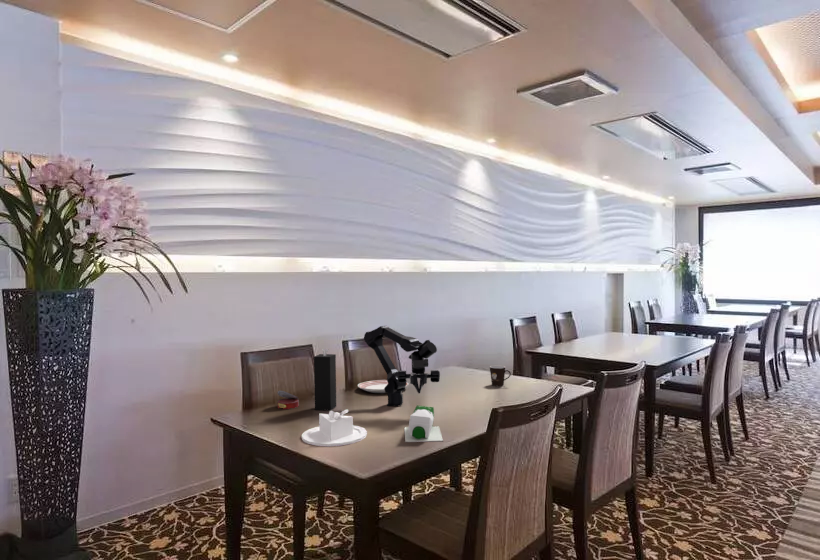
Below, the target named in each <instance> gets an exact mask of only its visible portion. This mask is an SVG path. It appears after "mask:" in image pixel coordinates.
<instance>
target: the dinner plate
mask: <svg viewBox="0 0 820 560" xmlns="http://www.w3.org/2000/svg"><path fill="white" fill-rule="evenodd" d="M387 384H388V382H387V379H377V380H375V379H374V380H369V381H364V382H360V383H358V384H357V387H358V388H359V389H361V390H363V391H365V392H368V393H373V394H387V393H386V392H385V389H384V388H385V387H386V386H387ZM408 386H409V382H406V386H405V388H407V387H408Z"/></svg>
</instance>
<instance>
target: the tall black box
mask: <svg viewBox="0 0 820 560" xmlns="http://www.w3.org/2000/svg"><path fill="white" fill-rule="evenodd" d="M321 350H322V353H320V354H317V355H314V356H313V374H314V376H313V379H314V383H313V384H314V410H315V411H333V410H334V409H335V408H336V407H337V370H336V369H337V368H336V367H337V363H336V362H337V360H336V359H337V354H336V353H335V354H334V353H333V354H332V353H328V350H329V349H328V348H323V347H322V348H321ZM327 353H328V354H327Z"/></svg>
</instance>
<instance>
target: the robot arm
mask: <svg viewBox="0 0 820 560" xmlns="http://www.w3.org/2000/svg"><path fill="white" fill-rule="evenodd" d="M384 337H386V338H387V339H389V340H391V341H393V342H394V343H396V344H398V345H399V347H400V349H402V350H403V351H405V352H406V353H409V352H411V353H410V354H409V356H408V357H407V358H408V359H410V360H411V372H409V373H407V370H398V369H397V368H396V367H395V364H394V363H393V361H392V359H391V357H390V356H389V353H388V352H387V350H386V347H384V345H383V344H384V343H383V342H384ZM363 340H364V342H365V343H366V345H367V346H368V347H369V348H371V349H372V350H373V352H374V353H375V354H376V357H377V358H378V360H379V362H380V364H381V367H383V369H384V371H385V373H386V380H387V382H388V384H387V386H386V387H385V388H384V389H385V392H386V393H385V394H387V404H386V406H388V407H390V406H391V407H402V405H403V404H404V394H403V392H404V391H405V389H406V387H407V386H406V382H407V381H408V379H409V380H410V384H411V385H413V387H414V388H415V390H416V392H417V394H421V392H422V390H423V387H424V386H425V385H426V384H427V383H428V379H430V382H432V383H440V376H441V373H440V371H439V369H436V370H432V369H431V370H430V373H429V372H428V373H426V368H428V367H429V358H430V357H431V356H433V355H435V354H436V353H437V352H438V349H437V348H438V347H437V346H436V344H434V343H433V342H431V340H430V339H426V340H425V341H424V342H421V341H420V340H419V339H418V338H416V337H412V336H407V335H403V334H401V333H400V332H398V331H397V330H395V329H393V328H390V326H387V325H381V326H378V327H377V328H375V329H372V330H370V331H365V332H364V336H363ZM418 379H419V381H418ZM407 383H408V382H407ZM405 386H406V387H405Z"/></svg>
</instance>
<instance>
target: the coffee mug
mask: <svg viewBox="0 0 820 560" xmlns="http://www.w3.org/2000/svg"><path fill="white" fill-rule="evenodd" d="M489 372H490V373H489V374H490V379H491V380H490V381H491V386H493V387H503V386H504V384H505V381H506V380H508V379H509V378H510V377H511V375H512V374H511V371H510V370H508V369H506V366H505V365H490V366H489ZM506 372H507V373H509V375H508V376H507V377H506V378H505V376H506V375H505V374H506Z"/></svg>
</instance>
